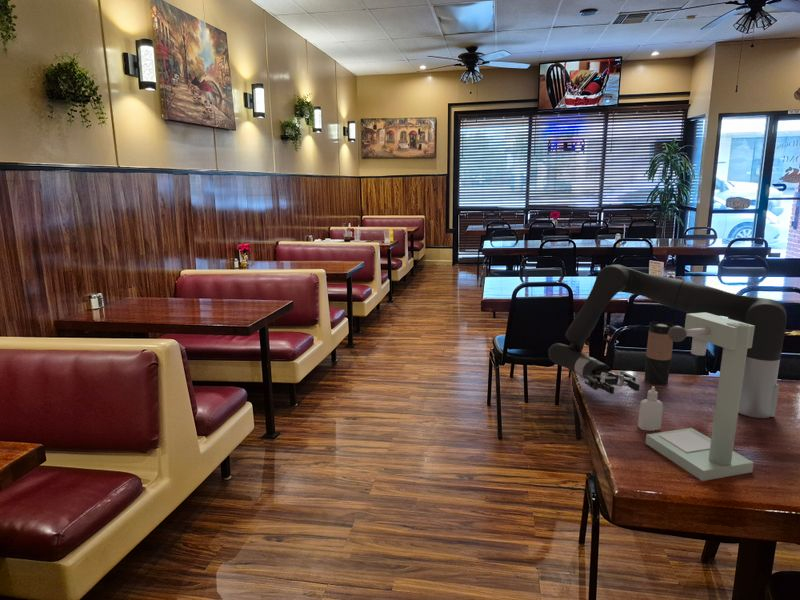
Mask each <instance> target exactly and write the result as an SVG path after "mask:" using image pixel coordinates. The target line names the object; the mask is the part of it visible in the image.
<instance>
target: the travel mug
mask: <svg viewBox="0 0 800 600" xmlns="http://www.w3.org/2000/svg"><path fill="white" fill-rule="evenodd" d="M673 326H675V325H674V324H673V323H671V322H667V321H666V322H662V323H659V322H657V321H651V322H649V326H648V335H647V336H648V337H647V343H646V353H645V367H644V381H645V382H648V383H650V384H653V385H666V384H668V383H669V378H670V369H671V365H672V356H673V347H674V346H673V344H674V341H672V340H671V339H670V338H669V336H668V331H669V329H670V328H671V327H673Z"/></svg>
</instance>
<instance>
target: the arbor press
mask: <svg viewBox="0 0 800 600" xmlns="http://www.w3.org/2000/svg"><path fill="white" fill-rule="evenodd" d="M754 329H755V326H754V325H750V324H746V323H743V322H739V320H735V319H732V318H728V317H724V316H717V315H713V314H710V313H706V312H704V313H686V315H685V321H684V327H683V326H681V325H674V326H673V327H671V328H670V329H669V331H668V336H669V338H670V339H671V340H672V341H673V342H675V343H679V342H683V341H685V340H686V337H692V338H691V339H692V342H691V350H690V354H691V355H695V356H701V357H702V356H703V357H704V356H706V352H707V343H709V344H712V345H714V346H718V347H721V348H722V352H721V353H722V354H721V362H720V369H719V375H718V376H719V377H718V384H717V394H716V400H715V406H714V414H713V415H714V416H713V422H712V423H713V424H712V429H711V437H709V436H707V435H705V434H703V433H702V432H699V430H696V429H695V428H693V427H688V428H681V429H674V430H667V431H663V432H653V433H647V434H646V436H645V445H647V446H649V447H650V448H652V449H653V450H655V451H656V452H658V453H659V454H661V455H662V456H664V457H665V458H666V459H668V460H670V461H672V463H674V464H675V465H677V466H679V467H680V468H682V469H683V470H685V471H686V472H688V473H690V474H691V475H692V476H693V477H695V478H697V479H699V480H700V481H701V482H705V481H710V480H715V479H722V478H726V477H733V476H740V475H744V474H749V473H751V474H752V473H753V469H754V461H752V460H751V459H748V458H746V457H745V456H743V455H741V454H739V453H737V452H736V451H734V446H735V444H734V443H735V439H736V431H737V430H736V429H737V425H738V424H737V423H738V417H739V413H738V411H739V404H740V397H741V390H742V383H743V376H744V369H745V362H746V355H747V348H752V342H753V336H754Z"/></svg>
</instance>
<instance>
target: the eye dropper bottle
mask: <svg viewBox="0 0 800 600" xmlns="http://www.w3.org/2000/svg"><path fill="white" fill-rule="evenodd" d="M658 395H659V392H658V391H656V388H655V386H651V388H650V389H649V390H647V395H646V398H645V399H642V400H641V401H640V402H639V410H638V418H637V419H638V420H637V427H639V429H640V430H642V431H650V432H651V431H652V432H654V431H655V430H656V431H659V430H661V429H662V418H663V411H664V403H663V402H662V401H661V400H659V399H658Z"/></svg>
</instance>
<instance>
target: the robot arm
mask: <svg viewBox="0 0 800 600" xmlns="http://www.w3.org/2000/svg"><path fill="white" fill-rule="evenodd" d="M618 293H627V294H632V295H637V296H641V297H644V298H647V299H649V300H650V301H653V302H656V303H658V304H660V305H662V306H664V307H667V308H668V309H674V310H676V311H677V310H678V311H680V312H684V313H687V314H691V313H704V312H706V313H710V314H713V315H717V316H721V317H724V318H728V319H732V320H735V321H742V322H745V323H746V324H750V325H754V326H755V329H754V336H753V342H752V348H747V355H746V362H745V369H744V376H743V383H742V390H741V397H740V404H739V411H738V414H741V415H743V416H745V417H746V416H747V417H751V418H756V419H767V418H770V417H771V418H775V416H776V409H777V406H778V404H777V403H778V398H779V392H780V385H779V384H778V383H777V382H778V375H779V368H780V362H781V357H782V351H783V344H784V339H785V334H786V329H787V328H786V327H787V317H788V316H787V310H786V309H785V307H784V305H782V304H781V303H780V302H778V301H776V300H774V299H770V298H763V297H756V296H750V295H749V296H748V295H742V294H737V293H732V292H728V291H725V290H722V289H720V288H715V287H711V286H708V285H704V284H700V283H698V282H693V281H689V280H686V279H685V280H684V279H680V278H675V277H667V276H661V275H655V274H650V273H645V272H643V271H639V270H636V269H632V268H630V267H628V266H624V265H621V264H615V263H614V264H610V265H607V266H603V268H601V269H600V270H599V271H598V274H597V276H596V279H595V281H594V283H593V285H592V288H591V291H590V293H589V294H588V297H587V298H586V300H585V302H584V304H583V305H582V307H581V308H580V310H579V312H577V314H576V316H575V318H574V319H573V320H572V322H571V324H570V325H569V327H568V328H567V329H566V332H565V334H564V336H565V339H567V341H569V342H570V345H567V344H564V343H560V342H555V343H553V344H551V345H550V347H549V348H548V352H547V354H548V357H549V360H550V361H551V362H553V363H554V364H556V365H559V366H561V367H563V368H566V369H568V370H570V371H571V372H572V373H574V374H575V375H577V376H579V378H581V379H582V380H584V384H585V385H587V386H588V387H590V388H591V389H592V390H595V391H597V390H601V391H605V392H607V393H608V394H610V395H614V394H615V386H617V387H628V388H629V389H632V390H633V391H635V392H639V391H640V388H641V387H640V385H641V384H640V383H638V382H637V381H636V379H637V377H636V376H634V375H631V374H629V373H627V372H625V371H620V373H616V372H614V371H612V370H611V368H610V367H609V365H607V364H606V363H604V362H602V361H600V360H598V359H596V358H594V357H592V356H589V355H587V354H585V353H582V352H583V349H584V346H585V343H586V341H587V340H588V338H589V337H590V335H591V334H592V332H593V331H594V329H595V328H596V325H597V324H598V322H599V319H600V316H601V315H602V313H603V311H604V310H605V308H606V307H607V305H608V304H609V303H610V301H611V300H612V299H614V297H615V296H616V295H617V294H618Z"/></svg>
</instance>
